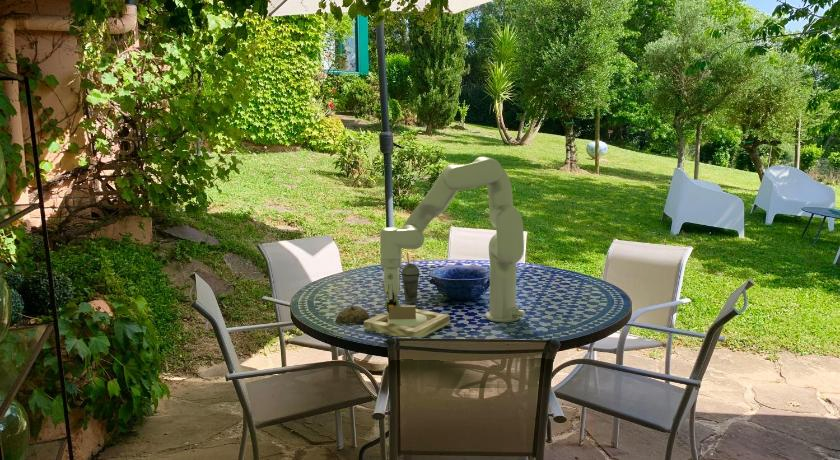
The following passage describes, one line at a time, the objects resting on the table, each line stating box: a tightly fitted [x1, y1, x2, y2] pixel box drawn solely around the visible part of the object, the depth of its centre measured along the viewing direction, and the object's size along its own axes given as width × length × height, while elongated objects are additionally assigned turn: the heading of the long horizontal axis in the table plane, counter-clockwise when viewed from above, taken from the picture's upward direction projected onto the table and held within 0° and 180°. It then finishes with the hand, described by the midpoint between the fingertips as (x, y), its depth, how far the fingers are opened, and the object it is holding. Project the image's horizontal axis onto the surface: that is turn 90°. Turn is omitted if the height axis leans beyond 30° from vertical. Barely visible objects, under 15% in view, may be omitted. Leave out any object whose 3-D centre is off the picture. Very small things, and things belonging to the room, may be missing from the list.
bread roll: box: [335, 305, 370, 325], centre depth 242 cm, size 13×12×5 cm
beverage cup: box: [401, 252, 421, 304], centre depth 263 cm, size 7×7×20 cm
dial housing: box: [363, 308, 451, 338], centre depth 233 cm, size 22×22×3 cm
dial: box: [388, 304, 427, 328], centre depth 232 cm, size 14×14×6 cm
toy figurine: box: [381, 280, 400, 309], centre depth 250 cm, size 5×6×12 cm
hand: (391, 312), depth 235 cm, fingers closed
